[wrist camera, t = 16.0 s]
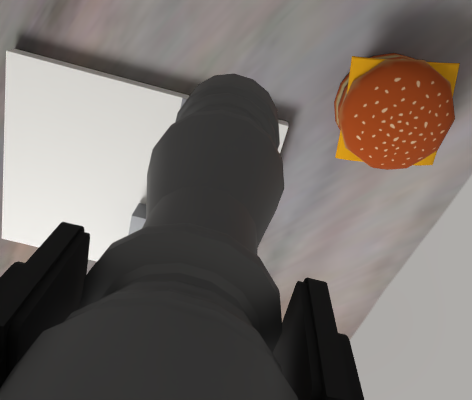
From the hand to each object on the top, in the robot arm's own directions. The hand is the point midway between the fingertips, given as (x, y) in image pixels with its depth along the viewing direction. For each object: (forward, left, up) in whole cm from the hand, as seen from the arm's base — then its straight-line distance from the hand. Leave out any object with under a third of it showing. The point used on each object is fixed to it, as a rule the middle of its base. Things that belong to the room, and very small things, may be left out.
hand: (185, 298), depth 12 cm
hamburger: (-1, +13, -32) cm, 35 cm away
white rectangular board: (+13, -8, -32) cm, 35 cm away
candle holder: (0, 0, -18) cm, 18 cm away
